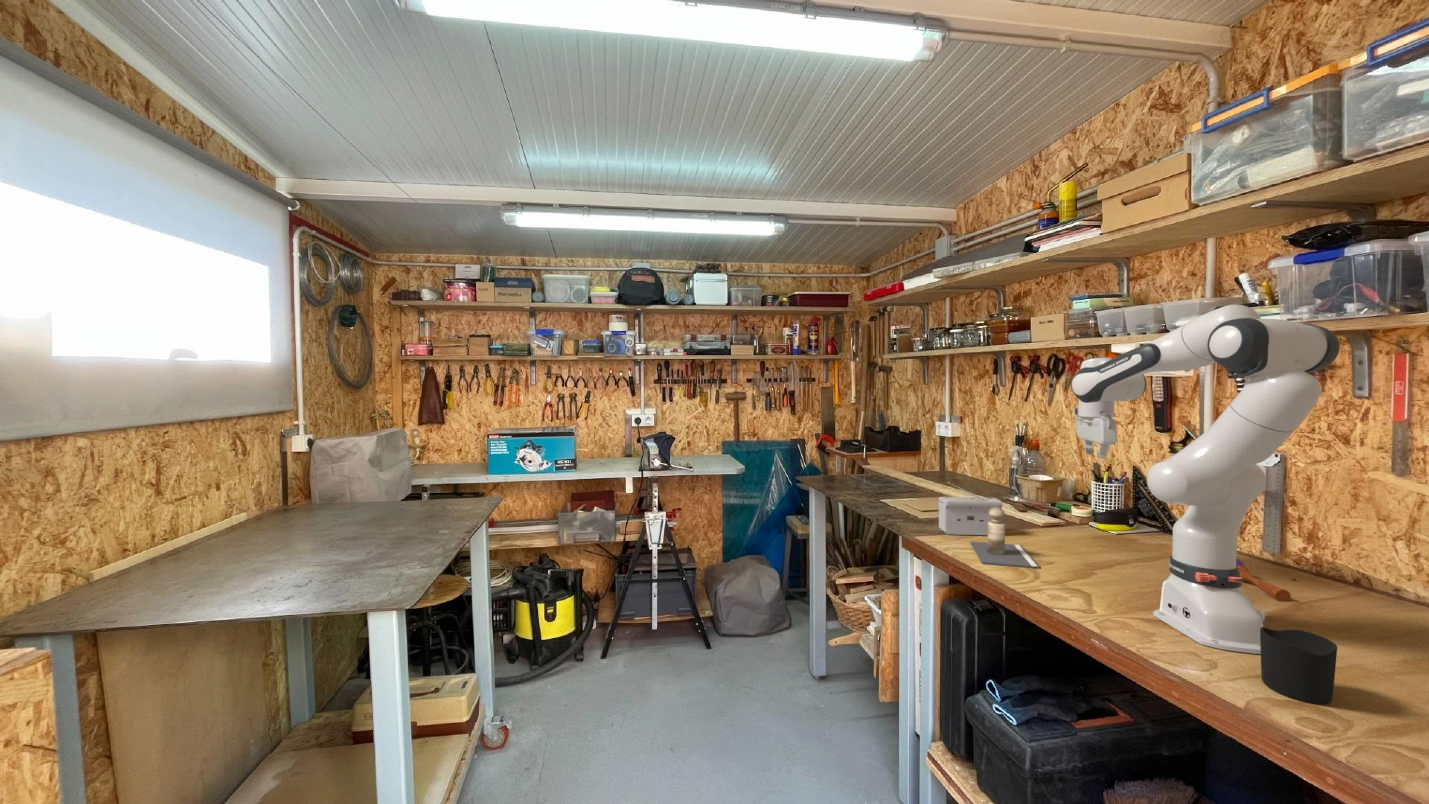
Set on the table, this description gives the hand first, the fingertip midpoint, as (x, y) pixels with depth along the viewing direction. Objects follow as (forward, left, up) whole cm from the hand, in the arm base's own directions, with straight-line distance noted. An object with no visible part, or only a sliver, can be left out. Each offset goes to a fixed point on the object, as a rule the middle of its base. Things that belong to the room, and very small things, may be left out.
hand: (1095, 456), depth 159 cm
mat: (+5, +24, -34) cm, 42 cm away
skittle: (+5, +26, -34) cm, 43 cm away
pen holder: (-64, -10, -34) cm, 73 cm away
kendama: (-6, -35, -35) cm, 49 cm away
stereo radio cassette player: (+29, +30, -34) cm, 54 cm away
